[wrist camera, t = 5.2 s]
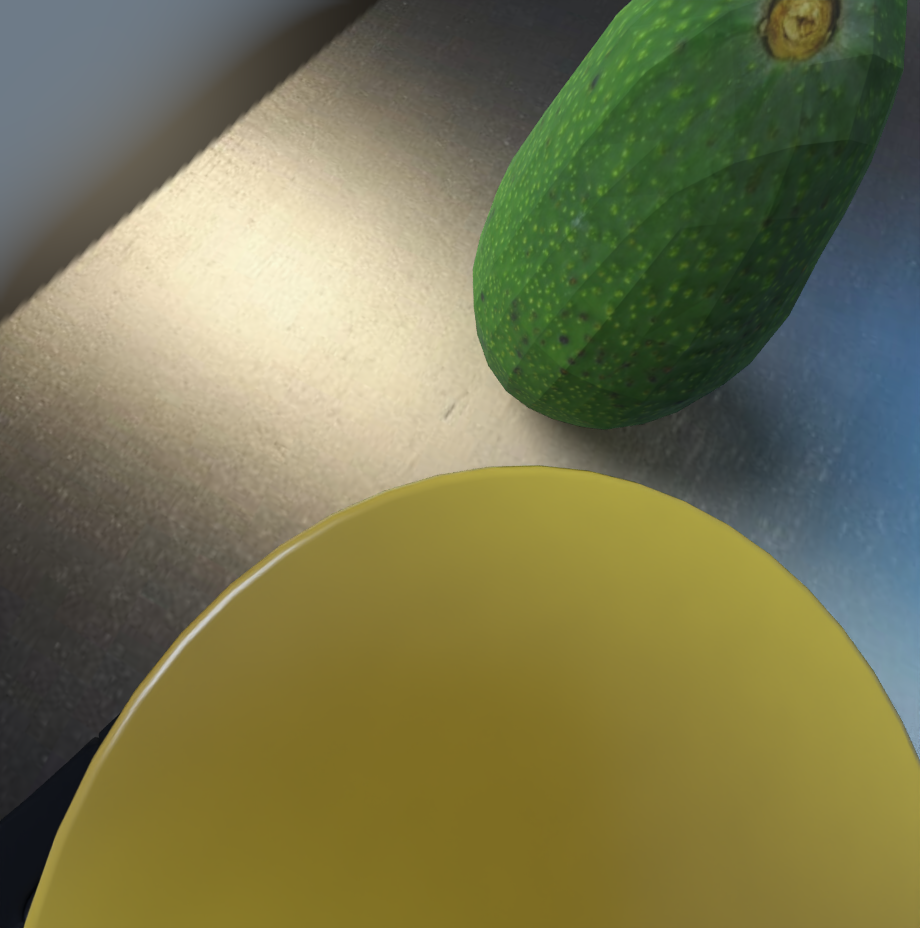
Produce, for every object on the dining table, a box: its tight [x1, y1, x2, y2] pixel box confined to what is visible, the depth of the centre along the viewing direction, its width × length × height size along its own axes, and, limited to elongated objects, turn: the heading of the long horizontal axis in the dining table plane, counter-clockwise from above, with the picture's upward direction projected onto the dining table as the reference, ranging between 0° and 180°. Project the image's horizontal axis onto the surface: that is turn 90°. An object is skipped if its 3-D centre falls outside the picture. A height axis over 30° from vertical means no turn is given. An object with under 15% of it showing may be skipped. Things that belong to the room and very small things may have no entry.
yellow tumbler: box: [24, 466, 920, 928], centre depth 9 cm, size 5×5×13 cm
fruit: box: [473, 0, 907, 430], centre depth 12 cm, size 8×8×12 cm
